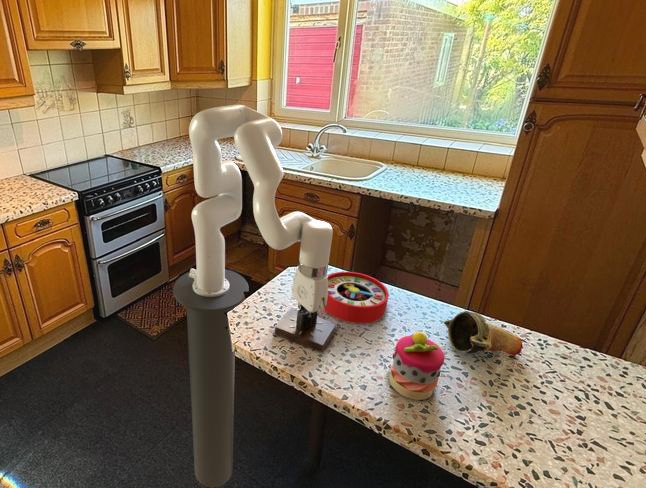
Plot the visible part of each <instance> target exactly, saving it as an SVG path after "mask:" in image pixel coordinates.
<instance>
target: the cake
mask: <svg viewBox="0 0 646 488" xmlns="http://www.w3.org/2000/svg"><path fill="white" fill-rule="evenodd" d="M392 360H393V361H392V362H393V363H392V364H393V365H392V366H391V367H390V368H389V370H390V372H389V375H388V376H389V384H390V385H391V387H392V388H393V389H394V390H395V391H396V392H397V393H399V394H400V395H401V396H403V397H405V398H408V399H412V400H415V401H423V400H426V399H429V398H430V397H432V395H433V392H434V389H436V388H437V386H438V383H439V378H440V376H441V368H442V367H443V365H444V364H445V360H446V356H445V353H444V351H443V349H442V347H440V346H439V345H438V344H437V343H435V342H434V341H433V340H431V339H428V337H427V335H426V333H424V332H423V331H416V332H415V333H413V335H405V336H403V337H400V338H399V339H398V340H397V342H396V346H395V349H394V352H393V354H392Z"/></svg>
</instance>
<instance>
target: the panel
mask: <svg viewBox="0 0 646 488" xmlns="http://www.w3.org/2000/svg"><path fill="white" fill-rule="evenodd" d="M299 310H300V309H299V308H298V309H297V308H295V307H290V308H289V310H288V311H287V312H285V315H284V316H283V317H282V318H281V319H280V321H279V322H278V323H277V324H276V325H275V327H274V335H277V336H280V337H281V338H284V339H286V340H289V341H292V342H295V343H297V344H299V345H302V346H304V347H307V348H309V349H312V350H314V351H317V352H319V353H323V351H324V350H325V348H326V346H327V345H328V343H329V342H330V340H331V338H332V337H333V335H334V333H335V332H336V330H337V325H338V324H337V322H334V321H332V320H328V319H325V318H323V317H319V316H317V322H316V325H314V326H312V327H309V328H305V329H302V330H300V329H299V328H298V327H297V326H296V322H297V313H298V311H299Z"/></svg>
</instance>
